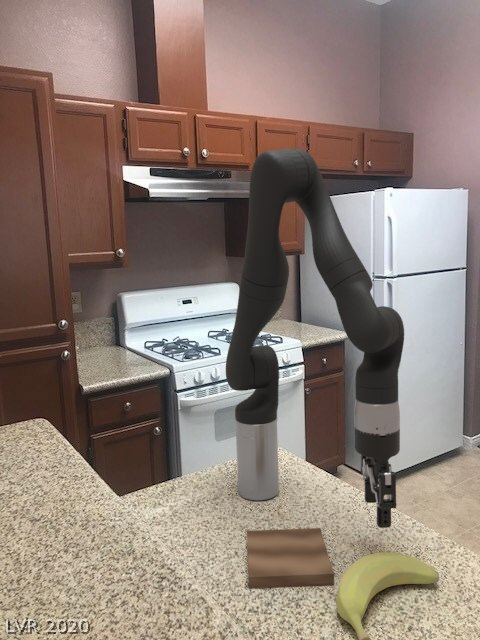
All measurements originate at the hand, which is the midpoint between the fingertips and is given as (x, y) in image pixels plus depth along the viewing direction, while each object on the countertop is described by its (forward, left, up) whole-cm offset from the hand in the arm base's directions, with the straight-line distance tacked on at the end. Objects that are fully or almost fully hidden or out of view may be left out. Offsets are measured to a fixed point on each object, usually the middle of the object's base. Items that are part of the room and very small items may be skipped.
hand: (377, 513), depth 92 cm
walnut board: (0, -16, -9) cm, 18 cm away
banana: (+4, +2, -6) cm, 7 cm away
